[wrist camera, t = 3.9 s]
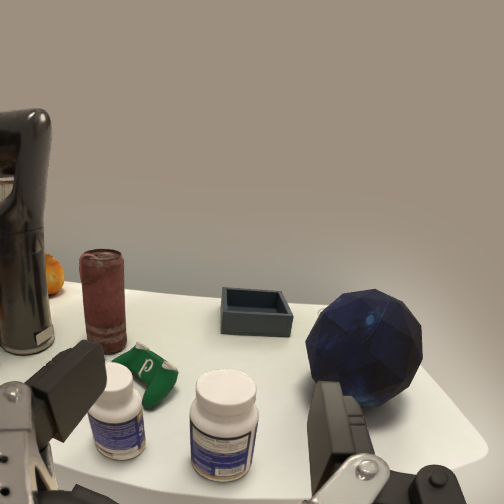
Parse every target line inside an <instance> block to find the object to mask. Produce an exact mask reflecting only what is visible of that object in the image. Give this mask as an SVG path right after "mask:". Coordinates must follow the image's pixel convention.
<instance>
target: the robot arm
mask: <svg viewBox="0 0 504 504" xmlns="http://www.w3.org/2000/svg"><path fill="white" fill-rule="evenodd" d="M51 142H52V125H51V120H50V117H49V114H48V113H47V112H46V111H45V110H43V109H41V108H31V109H20V110H11V111H3V112H0V178H3V177H4V178H5V177H6V178H7V177H14V182H13V187H12V190H11V192H10V194H9V195H8V196H7V197H6V198H5V199H3V200H2V201H0V343H1V344H2V346H3V348H4V349H5V350H7V351H8V352H11V353H14V354H22V355H24V354H33V353H37V352H40V351H42V350H44V349H46V348H47V347H49V346H50V345H51V344H52V343H53V341H54V329H53V325H52V322H51V315H50V306H49V298H48V289H47V279H46V266H45V252H44V226H43V225H44V209H45V202H46V189H47V176H48V167H49V160H50V151H51ZM106 384H107V373H106V366H105V358H104V350H103V346H102V345H101V344H99V343H95V342H91V341H88V340H82V341H80V342H79V343H78V344H77V345H76V346H74V347H73V348H70V349H67V350H65V351H62V352H60V353H59V354H57V355H56V356H55V357H54V358H53V359H52V361H49V362H48V363H47V364H46V366H43V367H42V368H41V369H40V370H39V371H38V372H36V373H35V374H34V375H33V376H32V377H31V378H30V379H28V380H27V381H26V382H25V383H22V382H17V381H13V382H7V383H5V384H3V385H1V386H0V504H118V503H117V502H115V501H113V500H112V499H110V498H109V497H107V496H104V495H101V494H99V493H97V492H94V491H92V490H89V489H87V488H84V487H82V486H80V485H78V484H76V485H75V487H74V488H73V490H72V491H64V490H59V489H58V486H57V482H56V477H55V471H54V465H53V459H52V452H51V446H50V443H49V441H50V440H51V439H52V438H54V439H56V440H58V441H61V442H63V443H64V442H65V440H66V439H67V438H68V436H69V435H70V434H71V433H72V431H73V430H74V429H75V427H76V426H77V425H78V424H79V422H80V421H81V420H82V418H83V417H84V416H85V415H86V413H87V412H88V411H89V409H90V408H91V407H92V406H93V404H94V403H95V402H96V401H97V399H98V398H99V397H100V396H101V394H102V393H103V392H104V390H105V388H106ZM307 434H308V447H309V461H310V475H311V491H312V498H311V499H310V500H308V501H307V500H304V501H302V502H301V503H299V504H466V501H465V499H464V496H463V493H462V491H461V488H460V485H459V483H458V480H457V478H456V476H455V474H454V473H453V472H452V471H451V470H450V469H448V468H446V467H444V466H441V465H428V466H425V467H423V468H422V469H420V471H419V472H418V473H417V475H413V474H407V473H400V472H395V471H392V470H390V469H389V466H388V464H387V463H386V462H385V461H384V460H383V459H381V458H380V457H378V456H376V455H375V452H374V449H373V446H372V442H371V439H370V436H369V432H368V429H367V426H366V422H365V419H364V417H363V413H362V410H361V406H360V405H359V403H358V402H357V401H356V400H355V399H354V398H353V397H352V396H343V394H342V390H341V386H340V383H339V382H329V381H318V382H317V384H316V388H315V392H314V396H313V399H312V403H311V407H310V410H309V414H308V421H307Z"/></svg>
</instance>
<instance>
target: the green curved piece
mask: <svg viewBox="0 0 504 504" xmlns="http://www.w3.org/2000/svg"><path fill="white" fill-rule="evenodd" d="M111 362H113V363H118V364H121V365H123V366H125V367H127V368H128V369H129V370H130V372H132V373H133V374H134V375H136V376H137V377H138V378H139V379H141V380H142V381H143V382H144V383H146V384H147V385H148V388H147V390H146V391H145V393H144V396H143V399H142V405H143V406H145V407H146V408H148V409H150V408H152V407H153V406H155V405H156V404H157V403H159V402H160V401H161V400H162V399H163V398H164V397H165V396H166V395H167V394H168V393H169V392H170V391H171V390H172V388H173V386H174V385H175V383H176V380H177V376H178V370H177V368H176V367H175V366H174V365H172V364H171V363H168V362H167V361H166V360H164V359H163V358H162V357H160V356H159V355H157V354H155V353H154V352H152V351H149V348H147V347H146V346H145V345H143V344H141V343H139V342H137V343H136V345H135V346H134V347H133V348H132V349H131V350H130V351H128V352H126V353H124V354H122V355H120V356H119V357H117V358H115V359H114V360H112V361H111Z"/></svg>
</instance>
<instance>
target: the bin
mask: <svg viewBox="0 0 504 504" xmlns="http://www.w3.org/2000/svg"><path fill="white" fill-rule="evenodd" d="M292 322H293V314H292V312H291V310H290V308H289V306H288V304H287V302H286V300H285V297H284V296H283V294H282V292H281V291H270V290H255V289H240V288H226V287H223V288H222V299H221V334H235V335H253V336H277V337H290V334H291V328H292Z"/></svg>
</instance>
